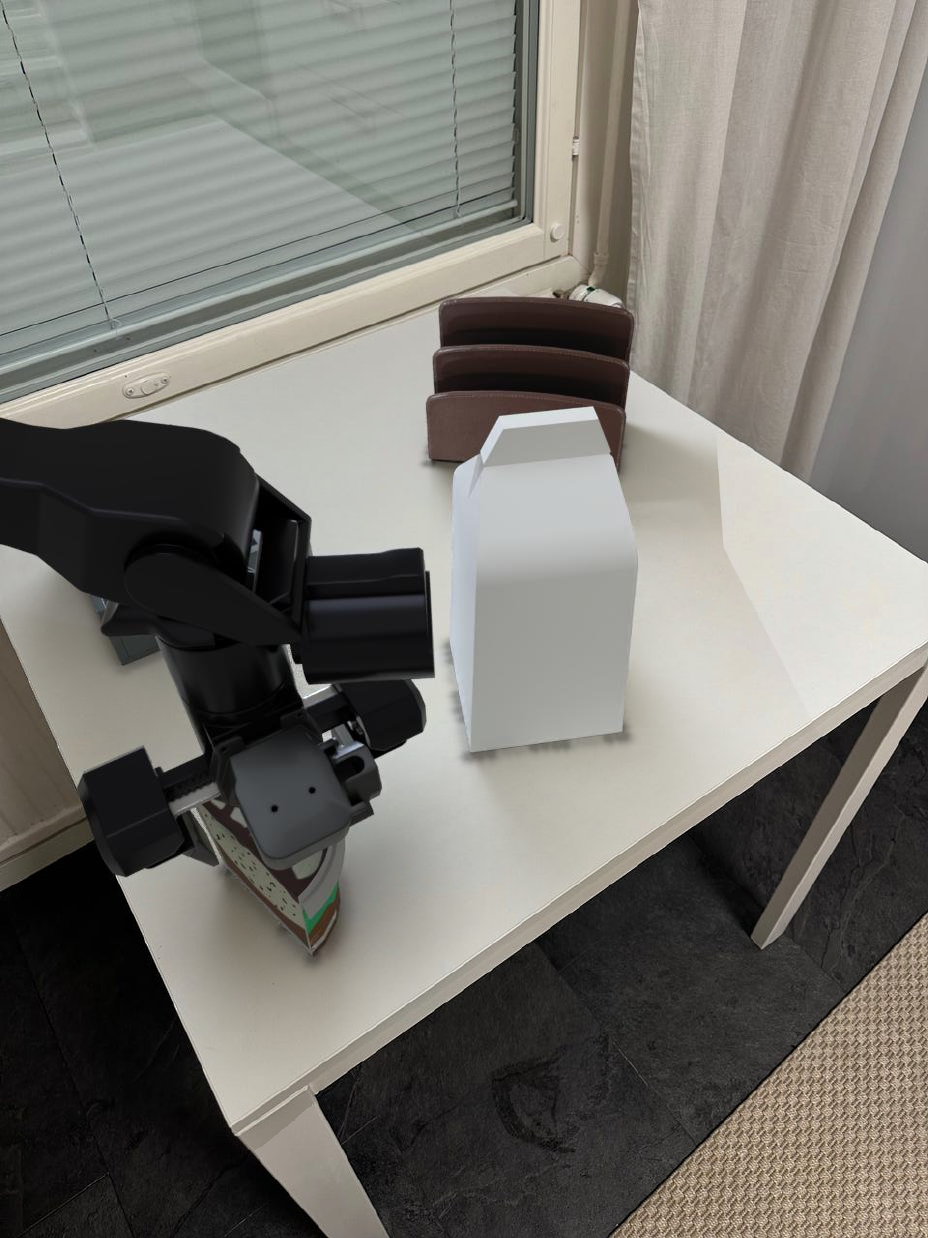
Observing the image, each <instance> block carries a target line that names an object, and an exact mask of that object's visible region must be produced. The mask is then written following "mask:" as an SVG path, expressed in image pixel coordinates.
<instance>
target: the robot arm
mask: <svg viewBox="0 0 928 1238" xmlns="http://www.w3.org/2000/svg"><path fill="white" fill-rule="evenodd" d="M312 525H313V520H312V517H311V516H310V515H309V514H308V513H306V512H305V511H304V510H303V509H301V507H299V506H298V505H297V504H295V503H294V502H293V501H292V500H291V499H289V498H288V497H287V496H286V495H284V494H283V493H281V492H280V490H278V489H277V488H276V487H274V486H273V485H272V484H270V483H269V482H268V481H267V480H266V479H264V478H263V477H262V476H260V475H259V474H258V473H257V472H256V471H255V469H254V467H253V466H252V465H251V463H250V462H249V461H248V460H247V458H246V457H245V456H244V454H242V453H241V447H240V446H239V445H238V444H236V443H235V442H233V441H232V440H230V439H229V438H227V437H225V436H223V435H220V434H218V433H216V432H213V431H211V430H208V429H203V428H199V427H193V426H184V425H183V426H182V425H175V424H171V425H170V424H169V423H168V424H167V423H160V422H151V421H143V420H136V419H135V420H134V419H125V418H121V419H115V420H109V421H105V422H104V421H103V422H97V423H92V424H86V425H81V426H75V427H68V428H60V427H51V426H42V425H33V424H28V423H25V422H21V421H16V420H12V419H9V418H5V417H0V546H5V547H8V548H12V549H15V550H18V551H21V552H24V553H27V554H30V555H33V556H35V557H37V558H39V560H41V561H42V562H44V563H45V564H46V565H47V566H48V567H50V568H51V569H52V570H53V571H55V572H56V573H57V574H58V575H59V576H61V577H62V578H63V579H65V580H66V581H67V582H68V583H70V585H71V586H73V587H75V588H76V589H77V590H79V591H80V592H81V593H83V594H86V595H89V594H90V595H93V596H96V597H99V598H102V599H106V600H108V603H107V606H106V610H105V613H104V616H103V620H102V622H100V623H101V624H100V627H99V631H100V633H101V634H102V635H103V636H105V637H107V638H109V637H122V636H141V635H152V636H155V638H156V640H157V643H158V645H159V648H160V650H159V651H160V653H161V654H162V657H163V660H164V663H165V665H166V667H167V669H168V672H169V675H170V677H171V679H172V682H173V684H174V686H175V689H176V691H177V695H178V696H179V699H180V701H181V703H182V706H183V708H184V711H185V713H186V716H187V718H188V720H189V723H190V725H191V728H192V731H193V733H194V735H195V737H196V740H197V742H198V745H199V747H200V750H201V752H202V754H201V755H198V756H196V757H194V758H192V759H190V760H187V761H185V762H183V763H180V764H178V765H177V766H174V767H172V768H170V769H168V770H166V771H164V769H163V767H162V766H161V765H159V766H156V767H155V768H154V765H153V761H152V759H151V757H150V755H149V752H148V750H147V748H146V746H145V745H144V744H142V745H139V746H137V747H135V748H133V749H132V750H128V751H127V752H124V753H121V754H119V755H117V756H115V757H113V758H110V759H108V760H106V761H104V762H101V763H99V764H97V765H95V766H93V767H91V768H88V769H85V770H84V771H83V772H82V774H81V776H80V780H79V781H78V784H77V786H76V790H77V793H78V796H79V799H80V801H81V804H82V808H83V810H84V813H85V817H86V819H87V821H88V822H87V823H88V825H89V827H90V830H91V834H92V837H93V839H94V842H95V845H96V847H97V849H98V851H99V853H100V856H101V858H102V860H103V861H104V863H105V865H106V866H107V867H108V869H109V871H110V872H111V874H112V875H115V876H120V877H123V878H128V877H130V876H133V875H135V874H136V873H139V872H141V871H142V870H153V869H155V868H158V867H159V866H161V865H163V864H165V863H168V862H169V861H171V860H174V859H176V858H178V857H179V856H181V855H182V856H186V857H187V858H190V859H193V860H196V861H198V862H200V863H202V864H206V865H208V866H210V867H213V868H215V867H217V866H219V865H220V860H219V858H218V856H217V853H216V852H215V849H214V847H213V844H212V843H211V841H210V839H209V836H208V834H207V832H206V831H205V829H204V828H203V826H202V825H201V823H200V822H199V820H198V819H197V817H196V816H195V814H194V813H193V812H192V810H193V809H194V808H195V809H196V807H197V806H199V805H201V804H203V803H205V802H207V801H209V800H212V799H214V798H216V797H218V796H220V795H221V796H222V798H223V800H224V802H225V804H230V805H233V806H238V807H239V809H240V812H241V814H242V816H243V818H244V820H245V823H246V825H247V827H248V829H249V831H250V833H251V836H252V838H253V840H254V842H255V844H256V846H257V849H258V851H259V853H260V855H261V857H262V860H263V861H264V863H265V864H266V865H267V866H268V867H270V868H272V869H274V870H284V869H287V868H290V867H292V866H294V865H296V864H297V863H299V862H300V861H302V860H304V859H306V858H308V857H310V856H312V855H314V854H315V853H317V852H319V851H321V850H323V849H325V848H327V847H329V846H332V845H334V844H336V843H338V842H340V841H341V840H343V839H344V838H345V839H346V837H347V835H348V833H349V831H350V828H351V827H353V826H355V825H356V824H359V823H361V822H363V821H364V820H366V819H368V818H371V817H372V816H374V815H375V812H374V809H373V806H372V804H371V801H372V800H373V799H376V798H377V797H379V796H381V794H382V789H383V784H382V779H381V775H380V771H379V766H378V764H377V762H376V761H375V760H377V759H379V758H381V757H383V756H385V755H387V754H390V753H392V752H393V751H395V750H397V749H400V748H402V747H403V746H404V745H405V744H406V743H407V742H408V740H410V739H412V738H414V737H416V736H419V735H420V734H422V733H424V730H425V727H426V725H427V722H428V720H427V719H428V718H427V707H426V702H425V700H424V698H423V695H422V694H421V691H420V690H419V688H418V687H417V686H416V684H415V683H414V681H413V680H422V679H423V680H424V679H425V680H426V679H435V678H436V665H435V643H434V623H433V622H434V621H433V604H432V587H431V585H432V584H431V571H430V570H428V569H426V560H425V554H424V553H425V552H424V549H422V548H421V547H419V546H417V547H414V546H413V547H399V548H397V547H396V548H390V549H387V550H382V551H376V552H362V553H358V552H357V553H342V554H323V555H322V554H321V555H320V554H319V555H318V554H317V555H314V554H313V549H312V543H311V536H312ZM254 530H256V531H259V532H260V538H259V545H258V552H257V559H256V566H255V570H254V569H252V568H249V560H250V554H251V547H252V541H253V534H254ZM90 595H89V596H90ZM287 645H289V650H290V654H289V650H288V647H287ZM290 655H291V659H292V661H293V664H294V665H301V667H302V673H303V676H304V679H305V682H306V684H308V686H314V685H315V686H316V685H317V686H318V685H329V686H326V687H324V688H322V689H319V690H318V691H315V692H314V693H313V692H312V693H311V694H308V695H307V696H303V697H302V696H301V694H300V692H299V690H298V686H297V682H296V678H295V674H294V670H293V667H292V663H291V659H290ZM329 731H330V734H331V737H330V738H329V739H327V740H325V741H324V736H323V735H324V734H326V733H327V732H329Z"/></svg>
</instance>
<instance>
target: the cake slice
mask: <svg viewBox="0 0 928 1238" xmlns="http://www.w3.org/2000/svg"><path fill="white" fill-rule="evenodd" d="M195 809H196V811H197V814H198V815H199V817H200V819H201V822H202V823H203V825H204V827H205V829H206V831H207V833H208V835H209V836H210V838H211V840H212V843H213V844H214V846H215V848H216V850H217V852H218V854H219V856H220V858H221V860H222V862H223V863H224V865H225V867H226V869H228V871H229V872H231V874H232V875H233V876H234V877H235V878H236V879H237V880H238V881H239V882H240V883H241V884H242V885H243V886H244V887H245V888H246V889H247V890H248V891H249V892H250V894H252V895H253V896H254V898H256V899H257V901H258V902H259V903H260V904H261V905H262V906H263V907H264V908H265V909H266V910H267V911H268V912H269V913H270V914H271V916H273V917H274V918H275V919H276V920H277V921H278V923H279V924H281V925H282V927H283V928H285V930H287V932H288V933H289V934H290V935H291V936H292V937H293V938H294V939H295V940H296V941H297V942H298V943H299V944H300V946H302V947H303V948H304V950H306V952H307V953H308V954H309V955H311V956H312V957H314V956H315V955H316V954H317V953H318V952H319V951H320V950H321V948H323V946H325V944H326V943H327V941H328V939H329V937H330V935H331V933H332V931H333V929H334V927H335V926H336V923H337V921H338V914H339V908H340V904H341V895H340V885H339V882H340V881H339V878H340V876H341V872H342V869H343V867H344V862H345V856H346V855H345V854H346V837H345V838H344V839H343V840H341V841H340V842H338V843H336V844H334V845H332V846H329V847H327V848H325V849H323V850H321V851H319V852H317V853H315V854H314V855H312V856H310V857H308V858H306V859H304V860H302V861H300V862H299V863H297V864H296V865H294V866H292V867H290V868H287V869H284V870H274V869H272V868H270V867H268V866H267V865H266V864H265V863H264V861H263V860H262V857H261V855H260V853H259V851H258V849H257V846H256V844H255V842H254V840H253V838H252V836H251V833H250V831H249V829H248V827H247V825H246V823H245V820H244V818H243V816H242V814H241V812H240V809H239V807H238V806H233V805H230V804H225V802H224V800H223V798H222V796H221V795H220V796H218V797H216V798H214V799H212V800H209V801H207V802H205V803H203V804H201V805H199V806H197V807H195Z"/></svg>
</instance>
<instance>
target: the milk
mask: <svg viewBox="0 0 928 1238" xmlns="http://www.w3.org/2000/svg"><path fill="white" fill-rule="evenodd" d="M610 452H611V450H610V448H609V445H608V443H607V440H606V437H605V435H604V432H603V430H602V427H601V424H600V422H599V419H598V417H597V415H596V412H595V410H594V408H593V406H592V407H582V408H572V409H563V410H553V411H543V412H534V413H524V414H514V415H505V416H499V417H498V419H497V421H496V423H495V425H494V427H493V429H492V430H491V432H490V434H489V436H488V438H487V440H486V442H485V443H484V445H483V447H482V449H481V451H480V453H481V454H478V455H476V456H475V457H473V458H471V459H470V460H468V461H466V462H462V463H461V464H459V465H458V466H457V467H456V469H455V470H454V473H453V478H452V501H451V503H452V506H451V507H452V508H451V548H450V550H451V551H450V552H451V554H450V556H451V557H450V599H449V601H450V602H449V603H450V605H449V645H450V652H451V658H452V663H453V668H454V674H455V678H456V683H457V688H458V694H459V700H460V706H461V709H462V711H461V712H462V717H463V721H464V726H465V731H466V732H465V733H466V737H467V743H468V748H469V753H470V754H472V753H479V752H486V751H492V750H499V749H508V748H515V747H522V746H530V745H536V744H545V743H550V742H551V743H553V742H560V741H566V740H572V739H574V740H575V739H581V738H588V737H595V736H604V735H610V734H616V733H617V734H619V733H622V732H623V726H624V716H625V707H626V706H625V705H626V695H627V687H628V686H627V684H628V673H629V665H630V655H631V645H632V635H633V626H634V625H633V623H634V615H635V605H636V603H635V602H636V595H637V594H636V592H637V583H638V573H639V572H638V571H639V553H638V551H639V550H638V545H637V540H636V536H635V531H634V528H633V523H632V521H631V518H630V514H629V509H628V506H627V502H626V500H625V496H624V495H625V494H624V492H623V488H622V485H621V482H620V477H619V473H617V471H616V467H615V464H614V460H613V457H612V456H611V455H610V454H609V453H610Z"/></svg>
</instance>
